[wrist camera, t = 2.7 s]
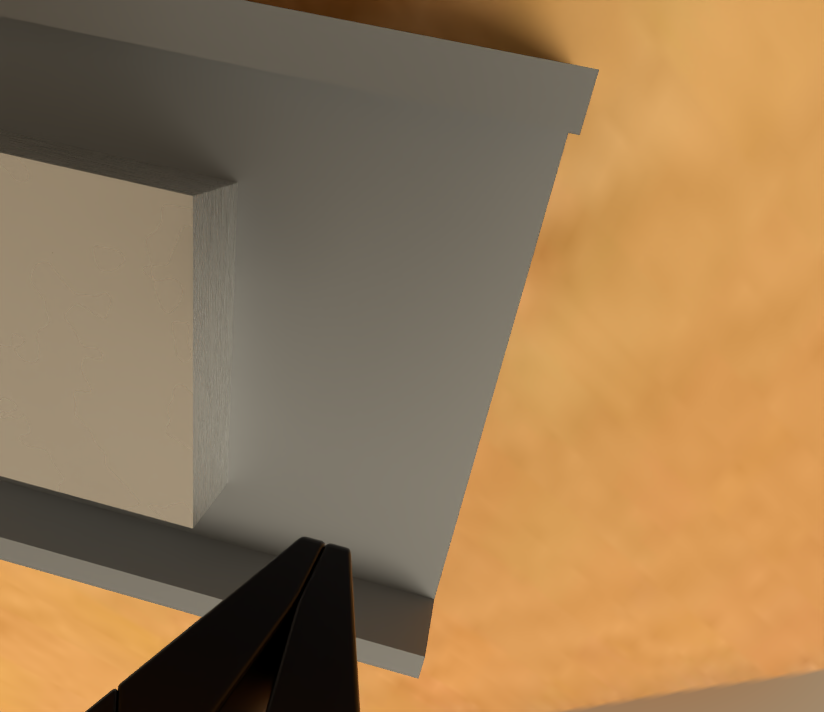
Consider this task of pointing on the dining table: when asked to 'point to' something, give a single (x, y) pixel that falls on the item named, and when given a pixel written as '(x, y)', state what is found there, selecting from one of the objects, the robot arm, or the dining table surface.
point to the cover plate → (115, 327)
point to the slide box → (310, 278)
